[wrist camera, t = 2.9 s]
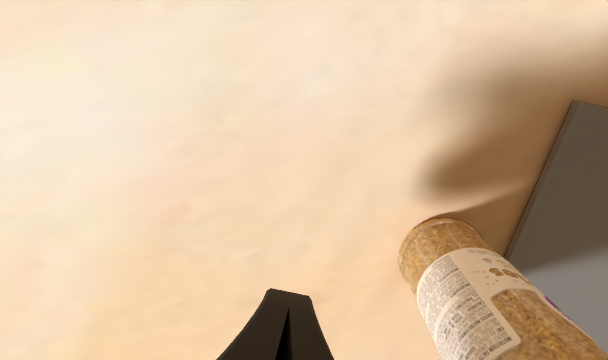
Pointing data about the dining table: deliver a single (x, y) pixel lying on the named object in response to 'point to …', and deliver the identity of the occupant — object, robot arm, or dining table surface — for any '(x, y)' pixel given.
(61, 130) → the dining table surface
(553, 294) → the rubber mat
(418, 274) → the sprinkles bottle
